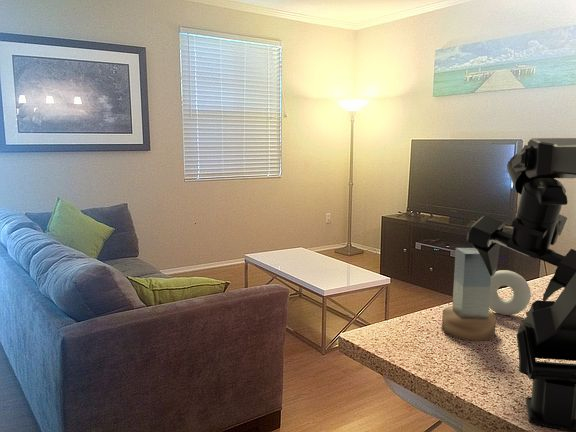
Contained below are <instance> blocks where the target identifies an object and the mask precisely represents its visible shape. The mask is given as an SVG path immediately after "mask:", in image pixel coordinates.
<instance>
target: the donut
mask: <svg viewBox="0 0 576 432" xmlns="http://www.w3.org/2000/svg"><path fill="white" fill-rule="evenodd" d="M502 286H503V287H504V286H506V287H509V288H511V289H512V291H513V295H512V297H511V298H509V299H504V298H502V297H501V296H499V294H498V289H499V288H500V287H502ZM531 297H532V294H531V288H530V286H529V284H528V282H527V280H526V279H525V278H524V277H523V276H522V275H520V274H519V273H517V272H514V271H512V270H508V269H507V270H506V269H505V270H504V269H503V270H496V272H495V274H494V275H493V276H491V283H490V298H489V310H490V311H493V312H494V313H496V314H500V315H502V316H512V315H517V314H519V313H522V311H524V310H525V309H526V308H528V307H527V306H528V305H529V304H530V301H531Z"/></svg>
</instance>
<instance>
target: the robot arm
mask: <svg viewBox="0 0 576 432" xmlns="http://www.w3.org/2000/svg"><path fill="white" fill-rule="evenodd" d="M506 170H507V173H508V175H509V177H510V180H511V182H512V184H513V187H514V189H515V191H516V193H517V194H518V195H520V198H519V203H518V207H517V210H516V215H515V218H514V219H513V220H512V223H511V227H512V232H511V234H510V233H507V232H505V231H504V230H505V227H506V223H504V222H503V221H500V220H498V219H497V218H493V217H490V216H489V215H483V216H481V217H480V218H479V219H478V220H476V221H475V222H474V223H473V224H472V225H471V226H470V227H469V228H468V229H467V232H466V233H467V235H466V241H467V242H468V243H470V244H471V245H472V248H475V249H477V250H478V252H479V253H480V255H481V257H482V259H483V260H484V263H485V265H486V267H487V269H488V272H489V274H490V276H493V275H494V274H495V272H496V271H497V268H498V265H499V264H498V263H499V256H500V248H501V246H503V247H506V248H508V249H510V250H512V251H514V252H517V253H520V254H522V255H524V256H527V257H530V258H533V259H536V260H537V259H538V260H541V261H543V262H546V263H548V264H550V265H553V266H556V269H555V272H554V275H553V276H552V277H551V278H550V280H549V281H548V282H549V283H548V285H547V286H546V289H545V291H544V293H543V296H542V300H535V301H534V302H532V303H531V306H530V308H529V310H528V311H525V315H526V317H525V318H524V319H523V321H522V323H520V325H519V327H518V330H517V333H516V342H517V349H518V362H519V363H518V364H519V365H518V372H519V373H521V374H523V375H525V376H527V377H528V379H529V380H532V386H531V387H532V389H531V396H526V398H525V403H526V409H527V410H526V411H527V416H528V417H527V418H528V422H530V423H531V424H533V425H539V426H544V427H548V428H554V429H558V430H564V431H568V432H576V363H568V362H567V363H566V362H554V361H553V362H551V361H541V360H540V361H536V359H542V360H543V359H545V360H555V361H556V360H557V361H571V362H573V361H574V362H576V249H573V248H571V249H569V251H568V252H567V253H566V254H563V253H561V252H558V251H556V250H553V249H551V248H550V246H554V245H555V244H556V243H557V240H558V237H560V236H561V234H562V232H563V230H564V228H565V225H566V222H567V220H568V218H567V216H564V215H562V214H560V213H561V210H562V207H563V206H566V205H568V196H567V194H566V193H567V190H566V187H565V186H564V185H563V183H562V182H561V181H559V180H558V179H576V137H573V138H572V137H567V138H566V137H562V138H560V137H545V138H543V137H541V138H539V137H533V138H530V139H529V140H528V142H527V144H525V145H524V146H523V147H522V149H521V150H520V152H518V153H516V154H514V155H513V156H512V157H511V158H510V159H509V161H507V165H506ZM562 288H563V290H562V291H561V293H560V294H559V295H558V297H557V298H556V300H548V299H549V298H550V297H551V296H552V295H553V294H554V293H555V292H557V291H559V290H561V289H562Z"/></svg>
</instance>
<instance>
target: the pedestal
mask: <svg viewBox="0 0 576 432" xmlns="http://www.w3.org/2000/svg"><path fill="white" fill-rule="evenodd" d="M452 307H453V305H451V306H447V307H445V308H443V310H442V318H441V319H442V320H441V321H442V322H441V331H442V332H444V333H445V334H446V335H448V336H451V337H453V338H455V339H456V338H457V339H460V340H465V341H470V342H471V341H473V342H482V341H483V342H484V341H489V340H491V339H492V340H493V339H494V338H495V336H496V325H497V324H496V323H497V317H496V316H497V315H496V314H494V313H493V312H492V311H491V310H489V313H488V319H461V318H460V317H459V316H458V315H457V314H456V313H455V312H454V311H453V310H452Z"/></svg>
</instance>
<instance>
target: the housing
mask: <svg viewBox="0 0 576 432" xmlns="http://www.w3.org/2000/svg"><path fill="white" fill-rule="evenodd" d="M490 283H491V276H490V274H489V272H488V269H487V267H486V265H485V263H484V260H483V259H482V257H481V255H480V253H479V252H478V250H477V249H475V248H474V247H455V256H454V273H453V291H452V306H453V307H452V310H453V311H454V312H455V313H456V314H457V315H458V316H459V317H460V318H461V319H488V313H489V311H490V308H489V298H490Z"/></svg>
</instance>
